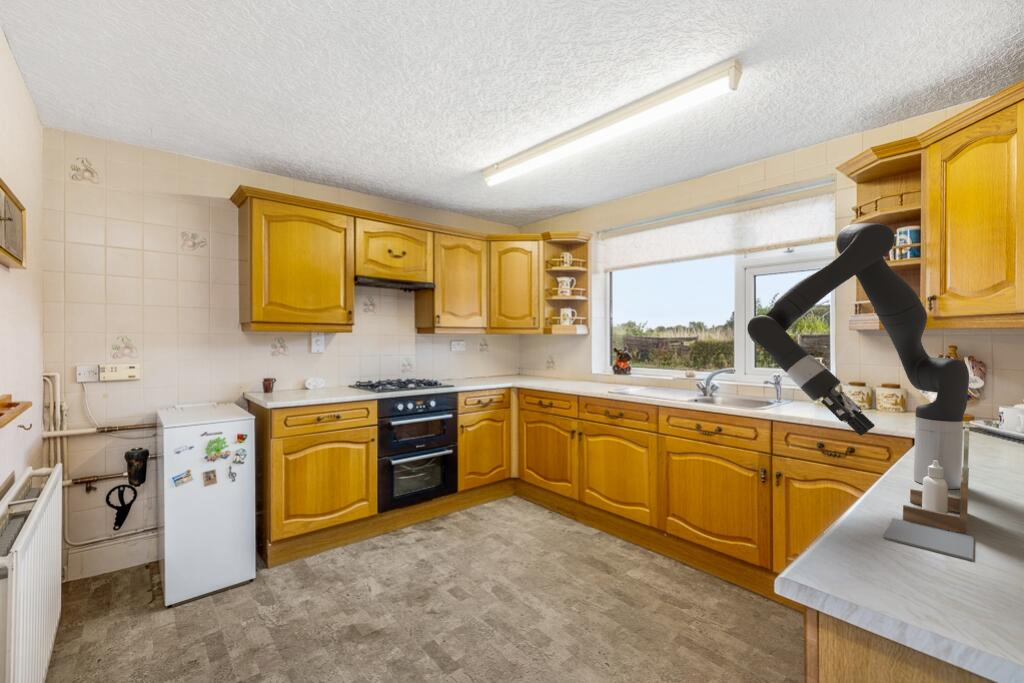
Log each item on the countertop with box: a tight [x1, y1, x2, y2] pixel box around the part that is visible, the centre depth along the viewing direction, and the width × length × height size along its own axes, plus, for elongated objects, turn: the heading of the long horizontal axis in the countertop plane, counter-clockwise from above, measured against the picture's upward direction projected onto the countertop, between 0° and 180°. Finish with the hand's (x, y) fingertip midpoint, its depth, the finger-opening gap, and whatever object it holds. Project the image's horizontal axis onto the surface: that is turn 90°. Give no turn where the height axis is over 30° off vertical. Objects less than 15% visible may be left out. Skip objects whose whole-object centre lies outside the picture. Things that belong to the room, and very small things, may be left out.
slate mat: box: [883, 517, 975, 562], centre depth 88 cm, size 13×12×1 cm
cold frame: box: [902, 421, 970, 535], centre depth 99 cm, size 16×10×20 cm, turn 135°
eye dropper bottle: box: [921, 460, 949, 514], centre depth 99 cm, size 4×6×12 cm
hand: (868, 430), depth 107 cm, fingers open, 8 cm apart
